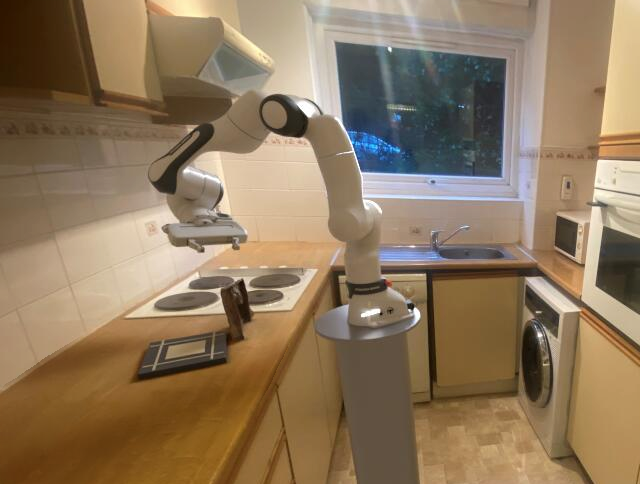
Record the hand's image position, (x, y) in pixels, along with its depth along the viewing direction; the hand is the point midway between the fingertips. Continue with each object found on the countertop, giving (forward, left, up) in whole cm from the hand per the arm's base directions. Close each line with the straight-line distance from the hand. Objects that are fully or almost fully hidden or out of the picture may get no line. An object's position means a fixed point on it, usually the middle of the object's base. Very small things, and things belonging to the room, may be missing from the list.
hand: (220, 249), depth 129 cm
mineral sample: (-1, +8, -24) cm, 25 cm away
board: (+12, +20, -23) cm, 33 cm away
